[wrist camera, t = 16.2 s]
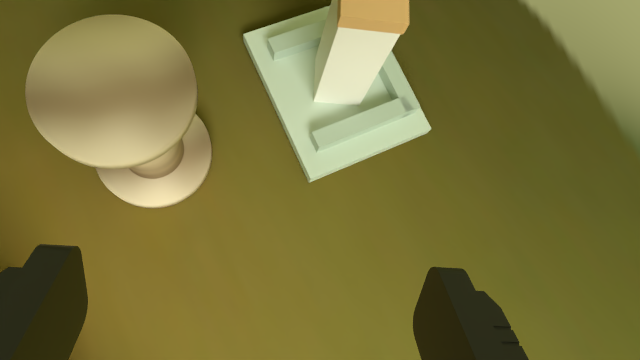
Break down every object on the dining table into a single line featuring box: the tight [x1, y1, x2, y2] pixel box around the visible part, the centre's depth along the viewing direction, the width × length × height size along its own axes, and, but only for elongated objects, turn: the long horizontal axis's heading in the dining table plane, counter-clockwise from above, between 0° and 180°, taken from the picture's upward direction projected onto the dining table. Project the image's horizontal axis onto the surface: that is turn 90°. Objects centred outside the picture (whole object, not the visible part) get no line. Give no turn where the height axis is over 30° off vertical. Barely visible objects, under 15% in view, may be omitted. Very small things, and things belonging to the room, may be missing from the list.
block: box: [314, 0, 409, 106], centre depth 30 cm, size 4×4×11 cm
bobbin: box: [25, 14, 212, 208], centre depth 28 cm, size 8×8×11 cm
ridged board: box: [243, 6, 431, 182], centre depth 35 cm, size 12×10×2 cm
